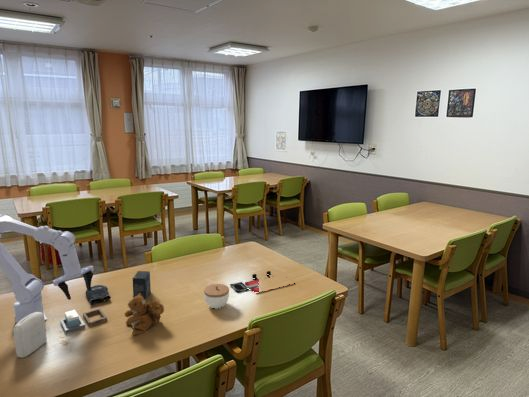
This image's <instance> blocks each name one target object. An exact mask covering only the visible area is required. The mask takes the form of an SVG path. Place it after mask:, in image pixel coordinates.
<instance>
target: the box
mask: <svg viewBox="0 0 529 397" xmlns="http://www.w3.org/2000/svg"><path fill="white" fill-rule="evenodd" d="M139 293H141V296H142V297H143V298H144V300H145V301H146V300H147V298H148V296H149V295H150V294H151V272H150V271H149V270H147V271H145V270H138V271H137V272H136V273H135V275H134V276H133V277H132V296H133V297H132V299H133V298H134V297H135V296H137V295H138V294H139Z"/></svg>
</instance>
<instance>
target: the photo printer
mask: <svg viewBox="0 0 529 397" xmlns="http://www.w3.org/2000/svg"><path fill="white" fill-rule="evenodd" d="M12 330H13V339H14V346H15V347H14V348H15V354H16V356H17V357H18V358H25V357H28V356H30V355H31V354H32V353H33V352H35V351H36V350H37V349H39V348H40V347H41V346H43V345H44V344H45V343H46V342H47V339H48V337H47V330H46V321H45V318H44V315H43V313H42V312H35V313H32V314H30V315H28V316H26V317H24V318H23V319H22V320H20V321H19V322H18V323H17V324H15V325H14V327H13V329H12Z"/></svg>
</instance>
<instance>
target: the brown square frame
mask: <svg viewBox="0 0 529 397" xmlns="http://www.w3.org/2000/svg"><path fill="white" fill-rule="evenodd" d="M96 314H99V315H100V316H101V318H98V319H95V320H92V321H91V320H90V318H89V316H93V315H96ZM82 317H83V319H84V321H85V323H86V324H87V325H88V327H93V326H96V325H98V324H102V323H105V322H107V321H108V317H107V316H106V314H105V313H104V311H103V309H101V308H95V309H92V310H88V311H86V312H83V313H82Z"/></svg>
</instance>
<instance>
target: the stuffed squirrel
mask: <svg viewBox="0 0 529 397" xmlns="http://www.w3.org/2000/svg"><path fill="white" fill-rule="evenodd" d="M127 307H128V308H129V309H128V310H126V311H125V313H124V317H126V318H127V320H126V321H125V324H126V325H128V326H132V328H133V330H132V332H131V335H132V336H137V335H140V334H142V333H145V332H147V330H149V328H150V327H153V326H154V325H157V324H158V323H160V320H161V317H162V316H161V315H163V313H164V312H165V306H164V304H162V303H160V302H159V301H156V300H152V301H149V302H148V303H147V304H146V300H144V298H143V297H142V296H141V293H139V294H138V295H137V296H135V297H134V298H133V297H132V299H131V300H130V301H129V302H128V304H127Z"/></svg>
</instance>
